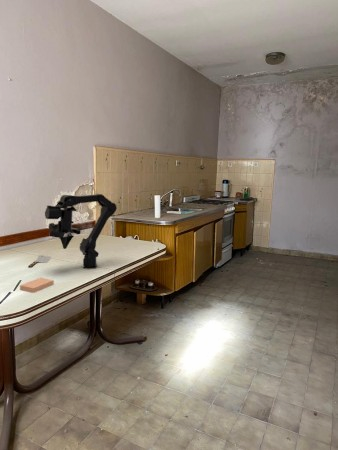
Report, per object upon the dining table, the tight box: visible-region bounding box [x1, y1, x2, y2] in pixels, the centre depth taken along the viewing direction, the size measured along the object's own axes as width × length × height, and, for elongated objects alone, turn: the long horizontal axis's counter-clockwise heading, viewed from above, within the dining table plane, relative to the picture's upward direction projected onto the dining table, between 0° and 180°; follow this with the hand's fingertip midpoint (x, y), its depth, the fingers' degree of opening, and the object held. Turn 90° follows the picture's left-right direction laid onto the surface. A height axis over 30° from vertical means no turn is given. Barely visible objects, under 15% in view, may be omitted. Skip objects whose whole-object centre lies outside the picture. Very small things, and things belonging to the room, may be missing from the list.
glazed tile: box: [19, 277, 55, 294], centre depth 149 cm, size 2×8×12 cm
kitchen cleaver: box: [27, 255, 52, 269], centre depth 189 cm, size 24×1×10 cm
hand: (64, 248), depth 171 cm, fingers closed
